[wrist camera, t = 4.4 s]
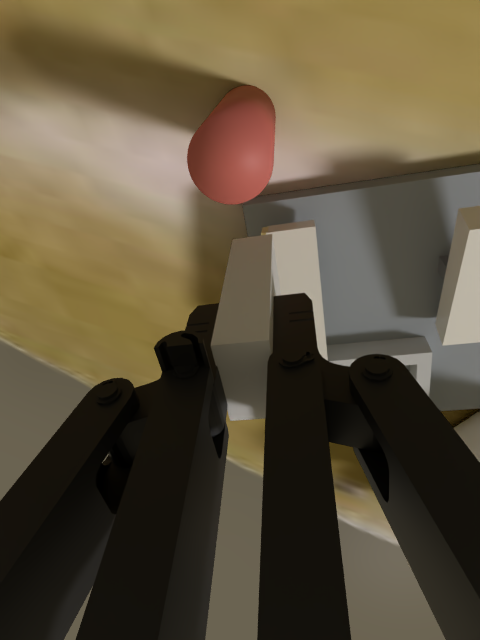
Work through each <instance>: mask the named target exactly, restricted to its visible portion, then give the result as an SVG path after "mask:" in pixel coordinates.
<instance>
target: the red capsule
mask: <svg viewBox="0 0 480 640" xmlns="http://www.w3.org/2000/svg"><path fill="white" fill-rule="evenodd" d="M275 118H276V116H275V109H274V105H273V103H272V101H271V99H270V98H269V96H268V95H267V94H266V93H265V92H264V91H262V90H261V89H259V88H257V87H254V86H250V85H244V86H239V87H236V88H234V89H232V90H231V91H229V92H228V93H227V94H226V95H225V96H224V98H223V99H222V100H221V101H220V103H219V104H218V105H217V106H216V108H215V109H214V110H213V111H212V112H211V114H210V115H209V116H208V117H207V119H206V120H205V121H204V122H203V124H202V125H201V126H200V127H199V128H198V130H197V131H196V132H195V134H194V135H193V137H192V139H191V142H190V144H189V148H188V154H187V163H188V169H189V172H190V175H191V178H192V180H193V182H194V183H195V185H196V186H197V187H198V189H199V190H200V191H201V192H202V193H203V194H204V195H206V196H207V197H209V198H210V199H212V200H214V201H216V202H220V203H224V204H240V203H244V202H247V201H249V200H251V199H253V198H254V197H256V196H257V195H258V194H259V193H261V192H262V190H263V189H264V188H265V187H266V185H267V184H268V182H269V180H270V177H271V174H272V170H273V162H274V140H275Z"/></svg>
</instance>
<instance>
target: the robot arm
mask: <svg viewBox="0 0 480 640" xmlns="http://www.w3.org/2000/svg"><path fill="white" fill-rule="evenodd" d="M154 350H155V353H156V355H157V358H158V361H159V364H160V367H161V370H162V375H161V378H160V379H159V380H157V381H154V382H152V383H149V384H146V385H143V386H139V387H136V388H134V386H133V384H132V383H131V382H130V381H129V380H127V379H123V378H113V379H109V380H106V381H103V382H101V383H100V384H98V385H96V386H95V387H93V388H92V389H91V390H90V391H89V392H88V393H87V394H86V396H85V397H84V398H83V399H82V401H81V402H80V403H79V404H78V406H77V407H76V408H75V409H74V410H73V412H72V413H71V414H70V416H69V417H68V418H67V419H66V421H65V422H64V423H63V424H62V425H61V427H60V428H59V429H58V430H57V432H56V433H55V434H54V435H53V437H52V438H51V439H50V440H49V441H48V443H47V444H46V445H45V447H44V448H43V449H42V450H41V451H40V453H39V454H38V455H37V456H36V457H35V459H34V460H33V461H32V462H31V464H30V465H29V466H28V467H27V469H26V470H25V471H24V472H23V474H22V475H21V476H20V477H19V478H18V480H17V481H16V482H15V483H14V485H13V486H12V487H11V489H10V490H9V491H8V492H7V493H6V495H5V496H4V497H3V499H2V500H1V501H0V640H64V638H65V636H66V634H67V633H68V631H69V629H70V627H71V625H72V623H73V621H74V619H75V618H76V616H77V614H78V612H79V610H80V608H81V607H82V605H83V603H84V601H85V599H86V597H87V595H88V594H89V592H90V590H91V588H92V586H93V588H92V591H91V594H90V597H89V600H88V604H87V606H86V610H85V613H84V616H83V619H82V622H81V625H80V628H79V631H78V634H77V637H76V640H205V636H206V626H207V618H208V610H209V601H210V592H211V584H212V575H213V567H214V558H215V548H216V540H217V532H218V524H219V515H220V506H221V498H222V488H223V480H224V471H225V463H226V455H227V446H228V438H229V434H228V428H227V424H226V414H227V410H228V414H229V417H230V421H234V420H249V419H263V418H266V419H265V446H264V474H263V501H262V528H261V556H260V583H259V611H258V612H259V613H258V638H257V640H351V634H350V625H349V616H348V608H347V599H346V590H345V582H344V572H343V564H342V555H341V546H340V538H339V529H338V520H337V511H336V502H335V493H334V484H333V476H332V467H331V458H330V449H329V442H332V443H337V444H341V445H346V446H350V447H353V449H354V452H355V455H356V457H357V459H358V461H359V463H360V465H361V467H362V469H363V471H364V473H365V475H366V477H367V479H368V481H369V483H370V485H371V487H372V489H373V491H374V493H375V495H376V498H377V500H378V502H379V504H380V506H381V508H382V510H383V512H384V514H385V516H386V518H387V520H388V522H389V524H390V526H391V528H392V530H393V532H394V534H395V536H396V538H397V540H398V543H399V545H400V547H401V549H402V551H403V553H404V555H405V557H406V559H407V561H408V563H409V565H410V567H411V569H412V571H413V573H414V575H415V577H416V579H417V581H418V583H419V586H420V588H421V590H422V591H423V594H424V595H425V598H426V600H427V602H428V604H429V606H430V608H431V610H432V612H433V614H434V616H435V618H436V620H437V622H438V624H439V626H440V628H441V630H442V632H443V635H444V637H445V639H446V640H480V462H479V461H478V459H477V458H476V457H475V455H474V454H473V453H472V452H471V450H470V449H469V448H468V446H467V445H466V444H465V443H464V441H463V440H462V439H461V437H460V436H459V435H458V434H457V432H456V431H455V430H454V428H453V427H452V426H451V425H450V423H449V422H448V421H447V419H446V418H445V417H444V416H443V414H442V413H441V412H440V410H439V409H438V408H437V407H436V405H435V404H434V403H433V401H432V400H431V399H430V398H429V396H428V395H427V394H426V392H425V391H424V390H423V388H422V387H421V386H420V385H419V383H418V382H417V381H416V379H415V378H414V377H413V376H412V374H411V373H410V372H409V370H408V369H407V368H406V367H405V365H404V364H403V363H401V362H400V361H399V360H398V359H396V358H394V357H391V356H389V355H384V354H369V355H364V356H362V357H359V358H357V359H356V360H355V361H354V362H353V363H351V365H350V366H343V365H338V364H334V363H332V362H329V361H327V360H326V359H325V358H323V357H322V356H321V354H320V353H319V351H318V347H317V338H316V330H315V321H314V313H313V304H312V300H311V299H310V298H309V297H308V296H307V295H306V294H305V293H297V294H288V295H281V291H280V284H279V277H278V270H277V263H276V256H275V249H274V243H273V236H272V234H268V235H260V236H253V237H246V238H238V239H233V240H232V245H231V250H230V254H229V259H228V264H227V269H226V274H225V278H224V283H223V288H222V293H221V298H220V302H219V303H218V304H209V305H200V306H197V308H196V309H195V310H194V311H193V312H192V313H191V314H190V315H189V319H188V322H187V327H186V329H185V331H179V332H174V333H171V334H169V335H167V336H165V337H163V338H162V339H161V340H160V341H158V342H157V344H156V345H155V347H154ZM107 454H109V455H108V457H107V458H106V460H105V461H104V462H103V460H104V459H105V457H106V456H107ZM102 462H103V463H102ZM93 584H94V585H93Z"/></svg>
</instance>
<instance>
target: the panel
mask: <svg viewBox="0 0 480 640" xmlns="http://www.w3.org/2000/svg"><path fill="white" fill-rule="evenodd" d="M474 206H480V164H475V165H468V166H462V167H455V168H448V169H441V170H434V171H428V172H421V173H414V174H407V175H401V176H394V177H387V178H380V179H373V180H367V181H360V182H353V183H346V184H339V185H333V186H326V187H319V188H312V189H306V190H299V191H292V192H285V193H278V194H272V195H265V196H258V197H254V198H253V199H251V200H249V201H247V202H244V203H243V212H244V217H245V223H246V229H247V234H248V237H253V236H260V235H261V231H262V228H263V227H267V226H272V225H279V224H286V223H294V222H301V221H308V220H314V222H315V226H316V237H317V248H318V259H319V270H320V281H321V291H322V302H323V313H324V324H325V335H326V346H327V357H328V361H329V362H332V363H334V364H338V365H343V366H350V365H351V363H353V362H354V361H355V360H356V359H357V358H359V357H362V356H364V355H369V354H384V355H389V356H391V357H394V358H396V359H398V360H399V361H400V362H401V363H403V364H404V365H405V367H406V368H407V369H408V370H409V372H410V373H411V374H412V376H413V377H414V378H415V379H416V381H417V382H418V383H419V385H420V386H421V387H422V388H423V390H424V391H425V392H426V394H427V395H428V396H429V398H430V399H431V400H432V401H433V403H434V404H435V405H436V407H437V408H438V409H439V410H440V411H449V410H464V409H480V342H478V343H467V344H455V345H444V346H442V343H441V340H440V337H439V334H438V331H437V328H436V325H435V322H436V317H437V312H438V307H439V302H440V297H441V293H442V288H443V283H444V278H445V273H446V268H447V263H448V258H449V253H450V248H451V243H452V239H453V234H454V229H455V224H456V219H457V214H458V209H459V208H466V207H474Z"/></svg>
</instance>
